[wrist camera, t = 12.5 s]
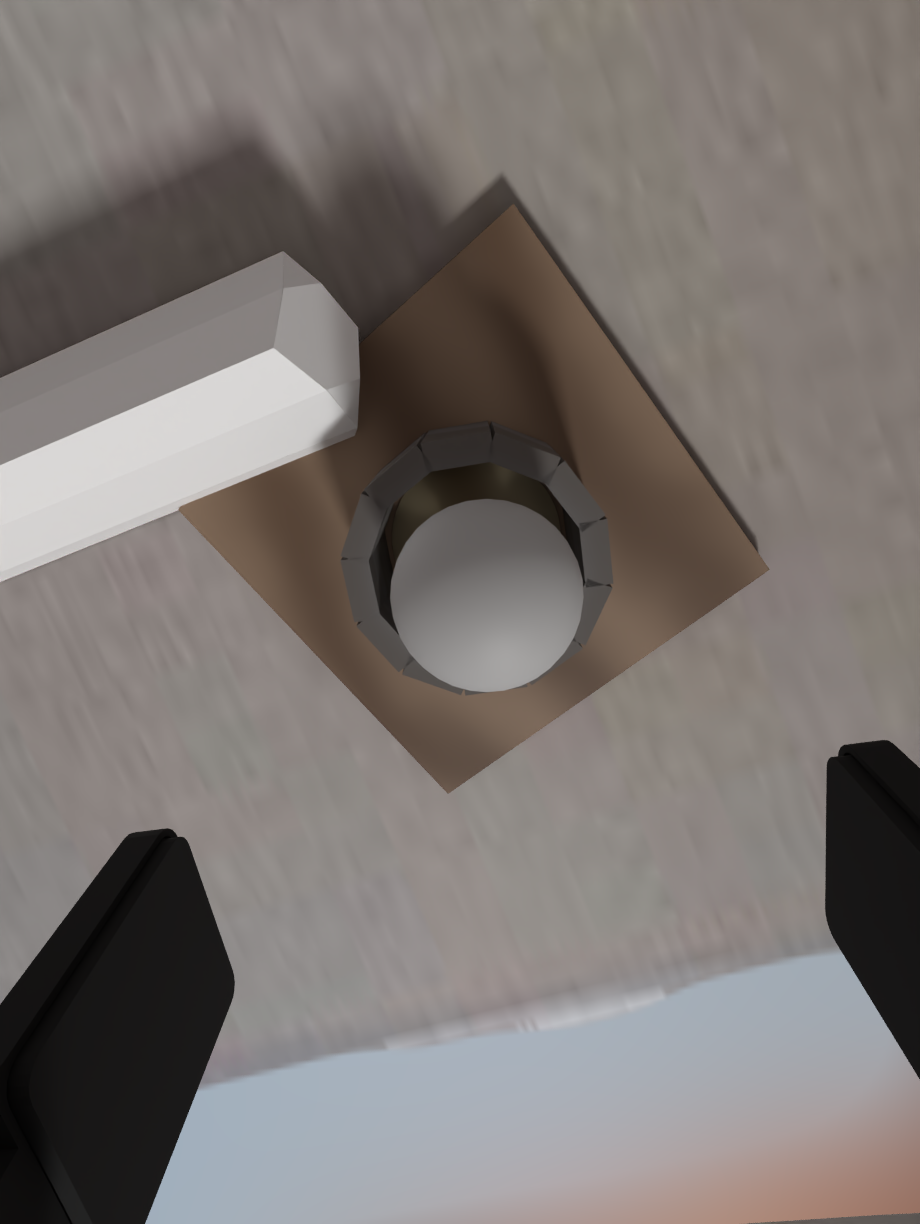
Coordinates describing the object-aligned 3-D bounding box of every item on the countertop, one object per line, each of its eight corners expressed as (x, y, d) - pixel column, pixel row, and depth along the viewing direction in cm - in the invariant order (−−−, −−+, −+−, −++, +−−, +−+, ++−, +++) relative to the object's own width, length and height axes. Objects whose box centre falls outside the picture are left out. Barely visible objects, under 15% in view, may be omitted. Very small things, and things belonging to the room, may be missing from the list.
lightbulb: (391, 576, 31) (349, 684, 20) (442, 443, 29) (424, 486, 18) (520, 626, 31) (543, 754, 21) (578, 499, 29) (636, 570, 19)
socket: (511, 209, 27) (522, 167, 21) (760, 563, 31) (824, 607, 26) (186, 505, 31) (122, 536, 25) (448, 782, 35) (444, 861, 30)
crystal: (-109, 677, 30) (413, 473, 27) (-296, 568, 25) (326, 298, 21) (-54, 559, 35) (392, 374, 32) (-199, 447, 30) (318, 213, 26)
